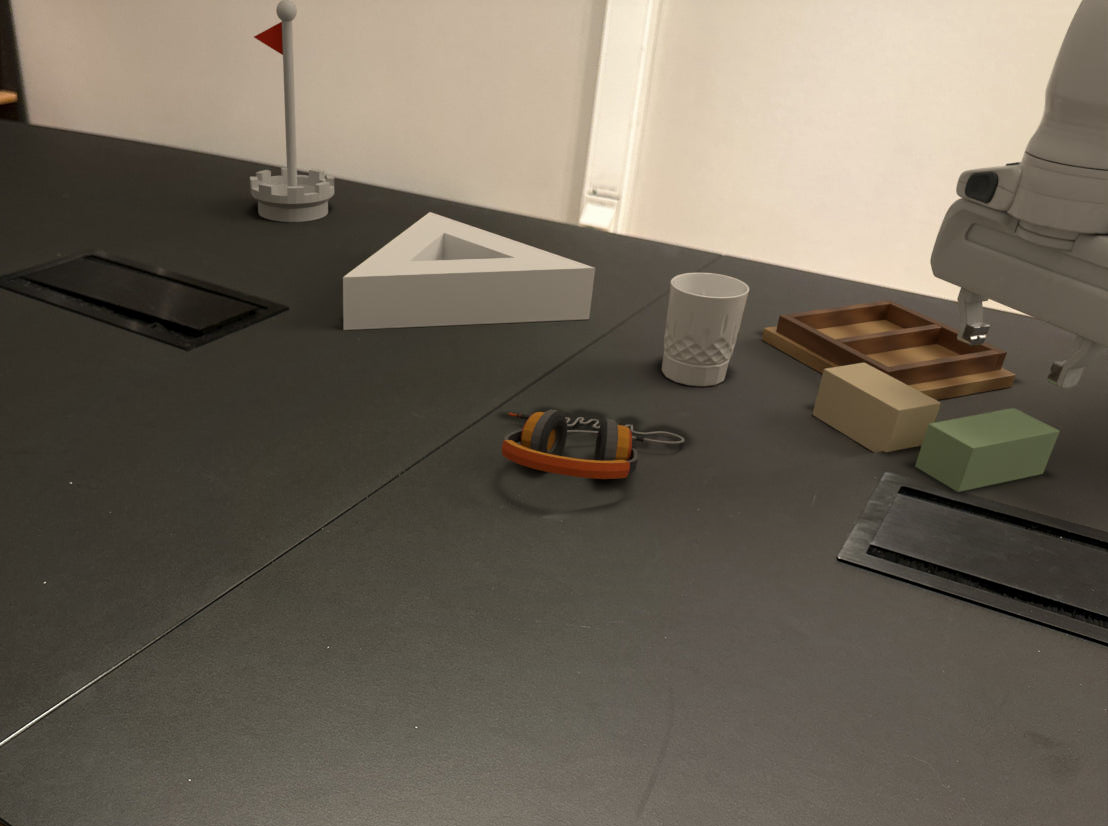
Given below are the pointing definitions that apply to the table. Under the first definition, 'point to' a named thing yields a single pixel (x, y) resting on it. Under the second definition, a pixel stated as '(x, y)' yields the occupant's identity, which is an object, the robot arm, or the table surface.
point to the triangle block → (462, 281)
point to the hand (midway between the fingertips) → (1013, 362)
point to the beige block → (874, 408)
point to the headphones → (548, 439)
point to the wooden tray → (892, 347)
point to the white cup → (702, 327)
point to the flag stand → (289, 146)
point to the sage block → (986, 449)
